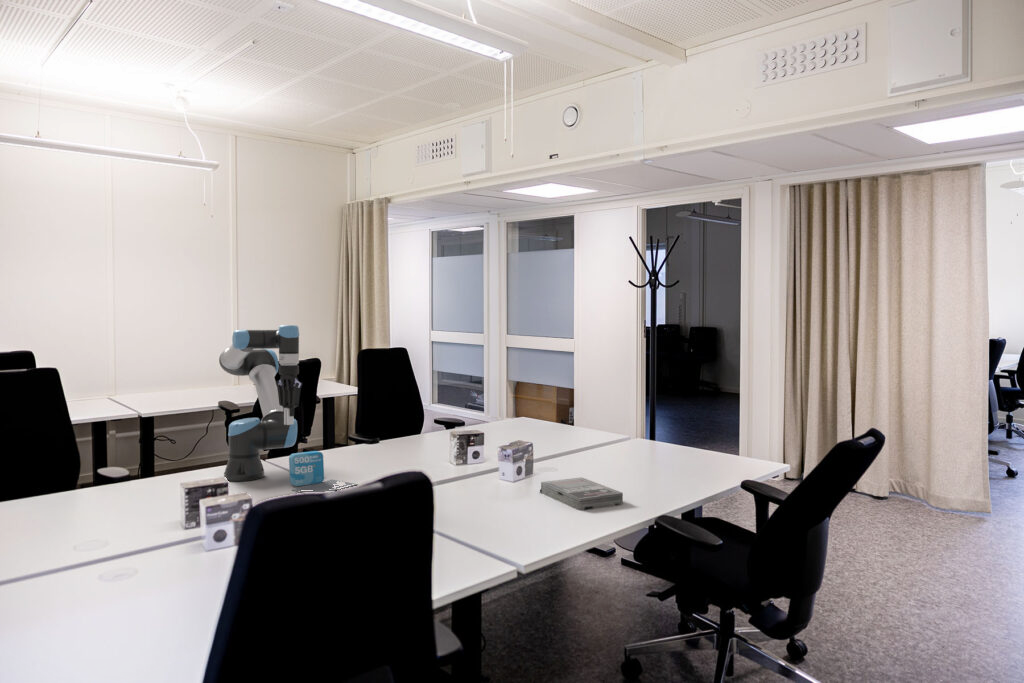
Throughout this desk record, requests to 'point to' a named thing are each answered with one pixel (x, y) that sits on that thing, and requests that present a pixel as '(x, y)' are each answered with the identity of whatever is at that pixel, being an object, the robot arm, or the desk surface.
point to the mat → (323, 486)
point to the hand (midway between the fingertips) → (288, 424)
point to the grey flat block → (581, 493)
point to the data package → (306, 468)
